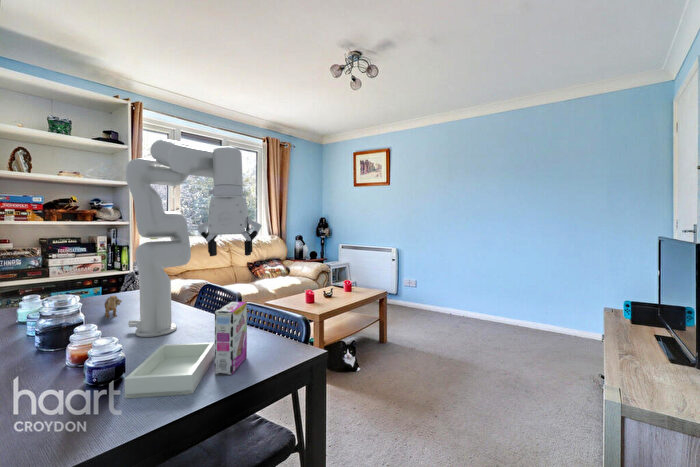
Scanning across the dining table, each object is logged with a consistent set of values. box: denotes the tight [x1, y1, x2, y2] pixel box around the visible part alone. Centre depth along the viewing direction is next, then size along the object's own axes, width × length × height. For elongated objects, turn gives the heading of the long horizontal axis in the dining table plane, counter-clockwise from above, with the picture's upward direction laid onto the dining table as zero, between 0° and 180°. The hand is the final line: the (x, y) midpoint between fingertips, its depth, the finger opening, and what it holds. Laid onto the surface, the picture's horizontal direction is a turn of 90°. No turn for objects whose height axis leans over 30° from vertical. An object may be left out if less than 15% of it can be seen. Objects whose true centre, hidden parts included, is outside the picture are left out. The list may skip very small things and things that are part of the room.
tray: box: [124, 341, 215, 399], centre depth 85 cm, size 14×20×4 cm
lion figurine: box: [104, 295, 123, 319], centre depth 137 cm, size 15×5×9 cm, turn 45°
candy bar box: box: [214, 301, 248, 376], centre depth 90 cm, size 11×5×16 cm, turn 178°
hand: (230, 255), depth 92 cm, fingers open, 9 cm apart
